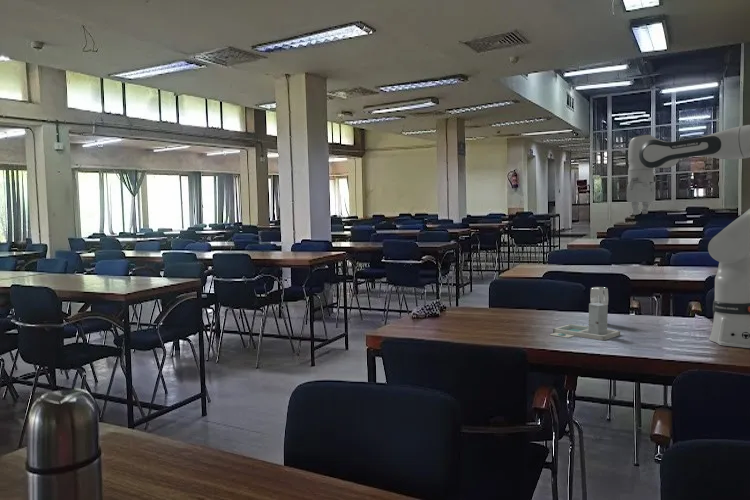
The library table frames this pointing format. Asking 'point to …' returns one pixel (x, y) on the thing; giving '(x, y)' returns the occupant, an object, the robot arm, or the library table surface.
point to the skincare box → (598, 318)
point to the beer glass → (599, 295)
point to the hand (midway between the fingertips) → (640, 214)
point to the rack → (582, 332)
